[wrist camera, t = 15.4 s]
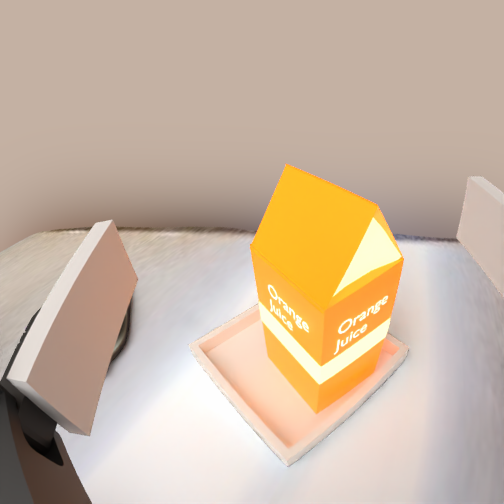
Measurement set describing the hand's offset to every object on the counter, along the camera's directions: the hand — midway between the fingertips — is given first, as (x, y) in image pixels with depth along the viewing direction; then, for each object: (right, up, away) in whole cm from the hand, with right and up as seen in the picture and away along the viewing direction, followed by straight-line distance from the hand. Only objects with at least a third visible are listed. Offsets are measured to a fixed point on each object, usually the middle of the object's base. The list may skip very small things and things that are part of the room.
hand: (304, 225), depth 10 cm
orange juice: (+5, -13, +20) cm, 24 cm away
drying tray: (+3, -13, +21) cm, 25 cm away
